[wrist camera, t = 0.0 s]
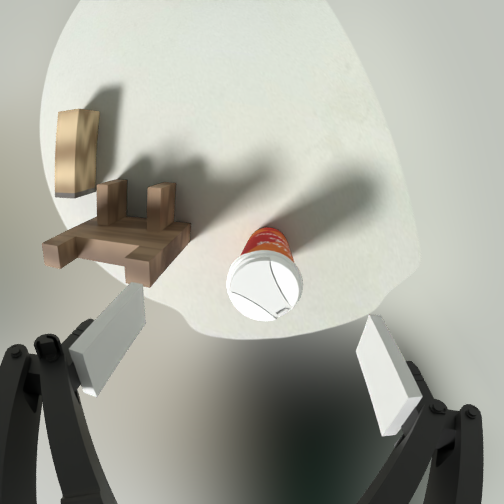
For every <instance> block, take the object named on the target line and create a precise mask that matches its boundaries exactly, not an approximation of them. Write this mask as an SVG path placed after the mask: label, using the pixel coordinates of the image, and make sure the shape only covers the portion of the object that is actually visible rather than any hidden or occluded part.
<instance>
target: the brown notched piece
mask: <svg viewBox="0 0 504 504" xmlns="http://www.w3.org/2000/svg"><path fill="white" fill-rule="evenodd" d="M175 190H176V183H169V182H162V183H159V184H156V185H153V186H150V187H148V190H147V218H139V217H130V216H127V180H120V179H116V180H112V181H108V182H104V183H100V184H97V217H95V218H93V219H91V220H89V221H86V222H84V223H82V224H80V225H78V226H76V227H74V228H72V229H69V230H67V231H65V232H63V233H61V234H59V235H57V236H55V237H53V238H51V239H49V240H47V241H45V242H43V243H42V248H43V254H44V262H45V265H46V266H50V267H55V268H59V269H61V268H63V267H64V266H65V265H67V264H68V263H70V262H72V261H73V260H75V259H76V258H82V259H87V260H93V261H98V262H104V263H109V264H115V265H120V266H125V278H126V283H128V284H130V283H131V282H134V283H139V284H143V286H144V287H149V288H150V287H151V286H152V285H153V284H154V282H155V281H156V280H157V279H158V278H159V276H160V275H161V274H162V273H163V272H164V271H165V270H166V268H167V267H168V266H169V265H170V264H171V263H172V261H173V260H174V259H175V258H176V257H177V256H178V255H179V254H180V252H181V251H182V250H183V249H184V248H185V247H186V246H187V245H188V243H189V242H190V229H191V223H184V222H175V221H174V209H175Z"/></svg>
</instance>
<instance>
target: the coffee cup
mask: <svg viewBox="0 0 504 504" xmlns="http://www.w3.org/2000/svg"><path fill="white" fill-rule="evenodd" d="M302 290H303V280H302V276H301V273H300V271H299V269H298V267H297V266H296V264H295V263H294V260H293V257H292V254H291V251H290V248H289V245H288V242H287V240H286V238H285V236H284V235H283V234H282V233H281V232H280V231H279V230H277V229H274V228H270V227H265V228H261V229H259V230H257V231H255V232H254V233H253V234H252V235H251V237H250V238H249V240H248V242H247V244H246V246H245V248H244V250H243V252H242V254H241V256H240V257H238V258H237V259H236V260H235V261H234V262H233V263H232V265H231V266H230V269H229V273H228V276H227V291H228V295H229V297H230V299H231V301H232V303H233V304H234V306H235V307H236V308H237V310H238V311H240V312H241V313H242V314H243V315H245V316H246V317H249V318H251V319H254V320H258V321H272V320H276V319H277V318H278V317H281V316H283V315H284V314H285V313H287V312H289V311H290V310H291V309H292V308H293V307H294V306H295V305H296V304H297V302H298V301H299V299H300V297H301V294H302Z"/></svg>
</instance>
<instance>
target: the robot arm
mask: <svg viewBox="0 0 504 504" xmlns="http://www.w3.org/2000/svg"><path fill="white" fill-rule="evenodd" d="M145 324H146V320H145V309H144V294H143V284H139V283H134V282H131V283H130V284H129V285H128V286H127V287H126V288H125V289H124V290H123V291H122V292H121V293H120V294H119V295H118V296H117V297H116V298H115V299H114V300H113V301H112V302H111V303H110V305H109V306H108V307H107V308H106V309H105V310H104V311H103V312H102V313H101V314H100V315H99V316H98V317H97V318H96V319H95V320H93V319H88V320H86V321H84V322H82V323H81V324H80V325H79V326H78V327H77V328H76V330H74V331H73V332H72V334H70V335H69V336H68V338H67V339H66V340H65V341H64V342H63V343H62V344H61V343H60V340H59V338H58V337H57V336H56V335H54V334H45V335H41V336H40V337H38V338H37V339H36V340H35V342H34V347H35V349H36V352H37V355H35V354H29V353H28V350H27V348H26V347H25V346H24V345H21V344H16V345H13V346H11V347H10V348H8V349H7V351H6V352H5V355H4V357H3V360H2V363H1V366H0V504H37V501H36V461H37V444H38V432H39V423H40V415H41V408H42V402H43V410H44V417H45V423H46V429H47V434H48V439H49V445H50V449H51V454H52V458H53V462H54V466H55V470H56V473H57V477H58V481H59V484H60V487H61V490H62V494H63V497H62V499H61V504H117V501H116V500H115V497H114V495H113V493H112V491H111V488H110V486H109V484H108V482H107V479H106V477H105V474H104V472H103V469H102V467H101V464H100V462H99V459H98V456H97V454H96V451H95V448H94V445H93V442H92V439H91V436H90V433H89V430H88V426H87V423H86V420H85V416H84V413H83V409H82V405H81V402H80V397H79V393H78V391H77V389H78V387H79V386H80V385H81V386H82V389H83V391H84V393H87V394H89V395H92V396H95V397H97V396H98V395H99V393H100V392H101V390H102V389H103V387H104V386H105V384H106V382H107V381H108V379H109V378H110V376H111V374H112V373H113V372H114V370H115V368H116V367H117V365H118V364H119V362H120V361H121V359H122V358H123V356H124V355H125V353H126V352H127V350H128V349H129V347H130V346H131V344H132V343H133V341H134V340H135V338H136V337H137V335H138V334H139V332H140V331H141V330H142V328H143V326H144V325H145ZM356 353H357V357H358V359H359V362H360V366H361V369H362V372H363V375H364V378H365V381H366V384H367V387H368V390H369V394H370V396H371V400H372V403H373V407H374V410H375V414H376V417H377V420H378V424H379V427H380V431H381V435H382V436H388V435H396V434H397V432H398V431H399V430H400V428H401V427H402V430H403V435H402V436H401V437H400V438H399V440H398V441H397V442H396V443H395V444H394V446H395V448H394V449H393V451H392V453H391V454H390V456H389V457H388V459H387V461H386V462H385V464H384V466H383V467H382V468H381V470H380V471H379V473H378V474H377V476H376V477H375V479H374V480H373V482H372V483H371V485H370V486H369V488H368V489H367V490H366V491H365V493H364V494H363V496H362V497H361V498H360V500H359V501H358V502H357V504H409V502H410V500H411V498H412V497H413V495H414V493H415V491H416V489H417V487H418V485H419V483H420V481H421V479H422V477H423V475H424V473H425V471H426V469H427V466H428V464H429V462H430V460H431V457H432V461H431V468H430V474H429V479H428V484H427V489H426V494H425V499H424V503H423V504H481V500H482V487H483V430H482V417H481V413H480V411H479V410H478V408H476V407H475V406H473V405H471V404H466V405H464V406H463V407H462V408H461V409H460V411H453V410H448V409H447V407H446V405H445V404H444V403H443V402H441V401H440V400H437V399H434V398H433V396H432V394H431V392H430V390H429V388H428V386H427V384H426V382H425V381H424V378H423V377H422V375H421V373H420V371H419V369H418V367H417V366H416V365H415V364H414V363H413V362H412V361H405V359H404V358H403V355H402V354H401V352H400V350H399V348H398V346H397V344H396V342H395V340H394V338H393V337H392V335H391V333H390V331H389V329H388V327H387V325H386V324H385V322H384V320H383V318H382V317H381V315H371V314H369V317H368V320H367V323H366V325H365V328H364V331H363V334H362V336H361V339H360V342H359V345H358V347H357V350H356Z"/></svg>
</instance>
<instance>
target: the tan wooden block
mask: <svg viewBox="0 0 504 504" xmlns="http://www.w3.org/2000/svg"><path fill="white" fill-rule="evenodd" d="M99 115H100V112H99V111H92V110H85V109H74V110H67V111H61V112H58V121H57V133H56V150H55V197H60V198H77V197H81V196H84V195H87V194H90V193H93V192H95V177H96V151H97V136H98V124H99Z"/></svg>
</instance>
